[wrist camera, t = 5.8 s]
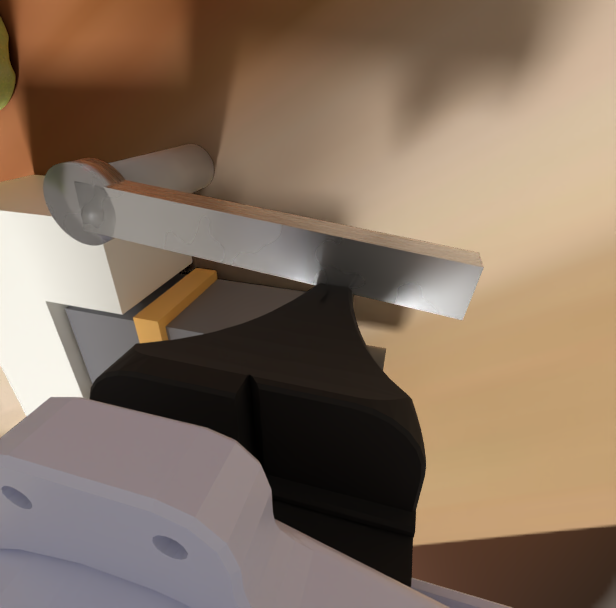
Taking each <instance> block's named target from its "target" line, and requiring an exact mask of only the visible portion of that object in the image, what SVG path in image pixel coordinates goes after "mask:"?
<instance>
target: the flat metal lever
mask: <svg viewBox="0 0 616 608" xmlns="http://www.w3.org/2000/svg"><path fill="white" fill-rule="evenodd" d="M43 192H44V198H45V201H46V205H47V207H48V209H49V211H50V213H51V215H52V217H53V218H54V220H55V221H56V223H57V224H58V225H59V226H60V227H61V229H62V230H63V231H64V232H66V233H67V234H68V235H69V236H70V237H72V238H73V239H75V240H77V241H79V242H81V243H83V244H86V245H91V246H97V245H102V244H104V243H106V242H108V241H110V240H113V239H115V238H118V239H122V240H126V241H130V242H135V243H139V244H143V245H147V246H152V247H156V248H160V249H164V250H168V251H173V252H177V253H181V254H185V255H190V256H194V257H198V258H202V259H206V260H211V261H215V262H219V263H223V264H228V265H232V266H236V267H240V268H244V269H249V270H253V271H257V272H261V273H266V274H270V275H274V276H278V277H282V278H287V279H291V280H295V281H299V282H303V283H308V284H312V285H318V284H319V283H323V284H330V285H338V286H345V287H349V288H350V289H351V290H352V294H354V295H358V296H363V297H367V298H371V299H375V300H379V301H384V302H388V303H392V304H396V305H401V306H405V307H409V308H413V309H417V310H422V311H426V312H430V313H434V314H439V315H443V316H447V317H451V318H455V319H460V320H463V317H464V315H465V313H466V310H467V308H468V305H469V303H470V300H471V298H472V295H473V293H474V290H475V288H476V285H477V283H478V280H479V278H480V275H481V273H482V270H483V268H484V267H483V264H482V261H481V257H480V254H479V253H478V252H473V251H469V250H464V249H459V248H454V247H449V246H444V245H439V244H435V243H430V242H425V241H420V240H415V239H410V238H405V237H400V236H396V235H391V234H386V233H381V232H376V231H371V230H366V229H362V228H357V227H352V226H347V225H342V224H337V223H332V222H328V221H323V220H318V219H313V218H308V217H303V216H298V215H294V214H289V213H284V212H279V211H274V210H269V209H264V208H260V207H255V206H250V205H245V204H240V203H235V202H230V201H226V200H221V199H216V198H211V197H206V196H201V195H196V194H192V193H187V192H182V191H177V190H172V189H167V188H162V187H158V186H153V185H148V184H143V183H138V182H133V181H128V180H125V179H124V177H123V176H122V175H121V174H120V173H119V172H118V171H117V170H116V169H115V168H114V167H113V166H111V165H110V164H108V163H106V162H105V161H102V160H100V159H96V158H83V159H79V160H74V161H69V162H64V163H60V164H56V165H54V166H52V167H51V168H50V169H49V170H48V171H47V173H46V175H45V178H44V183H43Z"/></svg>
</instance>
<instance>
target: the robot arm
mask: <svg viewBox="0 0 616 608" xmlns="http://www.w3.org/2000/svg"><path fill="white" fill-rule="evenodd" d="M353 296H354V294H352V290H351V289H350V288H349V287H345V286H338V285H330V284H323V283H319V284H318V285H316V286H315V287H313V288H312V289H310V290H309V291H307V292H305V293H304V294H302V295H300V296H299V297H297V298H296V299H294V300H292V301H290V302H288V303H287V304H285V305H283V306H281V307H279V308H277V309H275V310H273V311H271V312H269V313H267V314H265V315H263V316H260V317H258V318H255V319H253V320H250V321H248V322H245V323H242V324H239V325H235V326H232V327H229V328H225V329H222V330H219V331H215V332H211V333H206V334H202V335H197V336H192V337H186V338H180V339H174V340H165V341H156V342H148V343H136V344H135V345H134V346H133V347H132V348H130V349H129V350H128V351H127V352H126V353H125V354H124V355H122V356H121V357H120V358H119V359H118V360H117V361H116V362H114V363H113V364H112V365H111V366H110V367H109V368H108V369H106V370H105V371H104V372H103V373H102V374H101V375H100V376H98V377H97V378H96V379H95V381H94V383H93V384H92V386H91V389H90V398H89V399H86V398H82V397H50V398H49V399H47V400H46V401H45V402H44V403H43V404H41V405H40V406H39V407H38V408H36V409H35V410H34V411H33V412H32V413H30V414H29V415H28V416H27V417H25V418H24V419H23V420H22V421H21V422H19V423H18V424H17V425H16V426H14V427H13V428H12V429H11V430H10V431H8V432H7V433H6V434H5V435H3V436H2V437H1V438H0V608H512V607H508V606H505V605H502V604H498V603H495V602H492V601H488V600H485V599H481V598H478V597H475V596H471V595H468V594H465V593H462V592H458V591H455V590H451V589H448V588H444V587H441V586H438V585H434V584H431V583H428V582H425V581H421V580H418V579H415V578H412V548H413V538H414V534H415V522H416V507H417V503H418V500H419V496H420V492H421V488H422V485H423V481H424V477H425V470H426V456H425V449H424V442H423V437H422V432H421V428H420V425H419V421H418V417H417V414H416V411H415V408H414V405H413V402H412V399H411V398H410V397H409V396H408V395H407V394H406V393H405V392H404V391H403V390H402V389H400V388H399V387H398V386H397V385H396V384H395V383H394V382H393V381H392V380H390V379H389V377H388V376H387V375H386V374H385V373H384V372H383V370H382V369H381V367H380V366H379V365H378V363H377V362H376V360H375V359H374V358H373V356H372V355H371V353H370V351H369V349H368V348H367V346H366V344H365V342H364V340H363V338H362V335H361V333H360V330H359V328H358V325H357V322H356V318H355V314H354V310H353Z"/></svg>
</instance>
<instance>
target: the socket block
mask: <svg viewBox="0 0 616 608" xmlns="http://www.w3.org/2000/svg"><path fill="white" fill-rule="evenodd" d="M108 164H110V165H111V166H113V167H114V168H115V169H116V170H117V171H118V172H119V173H120V174H121V175H122V176H123V177H124V179H125V180H128V181H133V182H138V183H143V184H148V185H153V186H158V187H162V188H167V189H172V190H177V191H182V192H187V193H193V192H195V191H198V190H200V189H202V188H204V187H206V186H208V185H209V184H210V183H211V181H212V179H213V176H214V166H213V162H212V159H211V157H210V156H209V154H208V153H207V152H206V151H205V150H204V149H203V148H202V147H200V146H198V145H195V144H186V145H182V146H178V147H174V148H169V149H165V150H161V151H157V152H153V153H149V154H144V155H140V156H136V157H132V158H128V159H124V160H119V161H115V162H111V163H108ZM44 178H45V176H44V175H30V176H25V177H21V178H16V179H12V180H7V181H3V182H0V366H1V367H2V369H3V371H4V373H5V375H6V377H7V379H8V381H9V383H10V385H11V387H12V389H13V391H14V393H15V395H16V397H17V399H18V401H19V403H20V405H21V407H22V409H23V411H24V413H25V414H26V416H28V415H29V414H30V413H32V412H33V411H34V410H35V409H36V408H38V407H39V406H40V405H41V404H43V403H44V402H45V401H46V400H47V399H49V398H50V397H82V398H86V399H89V398H90V389H91V386H92V381H91V379H90V376H89V373H88V370H87V368H86V365H85V362H84V359H83V357H82V354H81V351H80V348H79V346H78V343H77V340H76V338H75V335H74V332H73V329H72V327H71V324H70V321H69V318H68V316H67V313H66V310H65V308H67V307H68V306H70V305H71V306H76V307H82V308H88V309H93V310H99V311H105V312H110V313H116V314H122V315H123V314H124V313H125V312H127V311H128V310H129V309H131V308H132V307H134V306H135V305H136V304H138V303H139V302H140V301H142V300H143V299H144V298H146V297H147V296H148V295H150V294H151V293H152V292H154V291H155V290H156V289H158V288H159V287H160V286H162V285H163V284H164V283H166V282H167V281H168V280H170V279H171V278H172V277H174V276H175V275H176V274H178V273H179V272H180V271H182V270H183V269H184V268H186V267H187V266H188V265H190V264H191V263H192V256H190V255H185V254H181V253H177V252H173V251H168V250H164V249H160V248H156V247H152V246H147V245H143V244H139V243H135V242H130V241H126V240H122V239H118V238H115V239H113V240H110V241H108V242H106V243H104V244H102V245H97V246H91V245H86V244H83V243H81V242H79V241H77V240H75V239H73V238H72V237H70V236H69V235H68V234H67V233H66V232H64V231H63V230H62V229H61V227H60V226H59V225H58V224H57V223H56V221H55V220H54V218H53V217H52V215H51V213H50V211H49V209H48V207H47V205H46V201H45V198H44V192H43V183H44Z"/></svg>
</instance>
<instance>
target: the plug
mask: <svg viewBox="0 0 616 608" xmlns="http://www.w3.org/2000/svg"><path fill="white" fill-rule="evenodd" d="M304 293H305V292H304V291H297V290H290V289H283V288H276V287H269V286H262V285H255V284H248V283H241V282H234V281H227V280H220V279H217V271H215V270H208V269H201V268H195V269H194V270H193V271H192V272H190V273H189V274H188V275H185V274H176V275H175V276H174V277H172V278H171V279H170V280H168V281H167V282H166V283H164V284H163V285H162V286H160V287H159V288H158V289H156V290H155V291H154V292H152V293H151V294H150V295H148V296H147V297H146V298H144V299H143V300H142V301H140V302H139V303H138V304H136V305H135V306H134V307H132V308H131V309H129V310H128V311H127V312H125V313H124V314H123V315H122V314H116V313H110V312H105V311H99V310H93V309H88V308H82V307H76V306H71V305H70V306H68V307H67V308H65V310H66V313H67V316H68V318H69V321H70V324H71V327H72V329H73V332H74V335H75V338H76V340H77V343H78V346H79V348H80V351H81V354H82V357H83V359H84V362H85V365H86V368H87V370H88V373H89V376H90V379H91V381H92V384H93V383H94V381H95V379H96V378H97V377H98V376H100V375H101V374H102V373H103V372H104V371H105V370H106V369H108V368H109V367H110V366H111V365H112V364H113V363H114V362H116V361H117V360H118V359H119V358H120V357H121V356H122V355H124V354H125V353H126V352H127V351H128V350H129V349H130V348H132V347H133V346H134V345H135V344H136V343H148V342H156V341H165V340H174V339H180V338H186V337H192V336H197V335H202V334H206V333H211V332H215V331H219V330H222V329H225V328H229V327H232V326H235V325H239V324H242V323H245V322H248V321H250V320H253V319H255V318H258V317H260V316H263V315H265V314H267V313H269V312H271V311H273V310H275V309H277V308H279V307H281V306H283V305H285V304H287V303H288V302H290V301H292V300H294V299H296V298H297V297H299V296H300V295H302V294H304ZM366 346H367V348H368V349H369V351H370V353H371V355H372V356H373V358H374V359H375V360H376V362H377V363H378V365H379V366H380V367H381V369H382V370H383V367H384V360H385V353H386V348H381V347H375V346H369V345H366Z"/></svg>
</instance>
